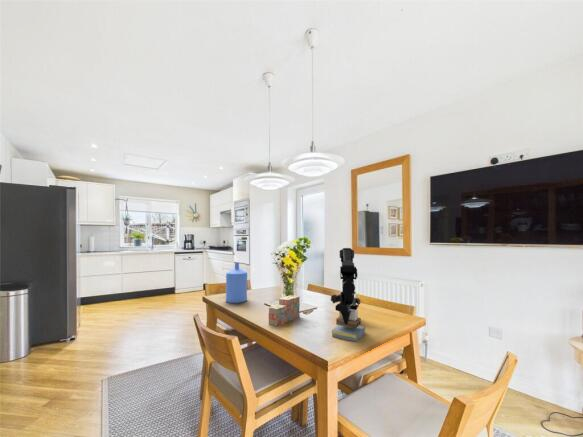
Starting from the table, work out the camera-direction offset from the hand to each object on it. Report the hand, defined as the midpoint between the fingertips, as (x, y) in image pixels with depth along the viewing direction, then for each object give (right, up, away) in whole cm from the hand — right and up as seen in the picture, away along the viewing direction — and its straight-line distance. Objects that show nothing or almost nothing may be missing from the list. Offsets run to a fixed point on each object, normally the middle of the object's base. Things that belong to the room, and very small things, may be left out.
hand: (348, 321), depth 131 cm
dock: (0, -6, 0) cm, 6 cm away
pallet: (0, -1, 0) cm, 1 cm away
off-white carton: (+2, +2, -1) cm, 3 cm away
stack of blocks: (-32, -8, +22) cm, 39 cm away
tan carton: (-2, +2, +1) cm, 3 cm away
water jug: (-69, -11, +67) cm, 97 cm away
